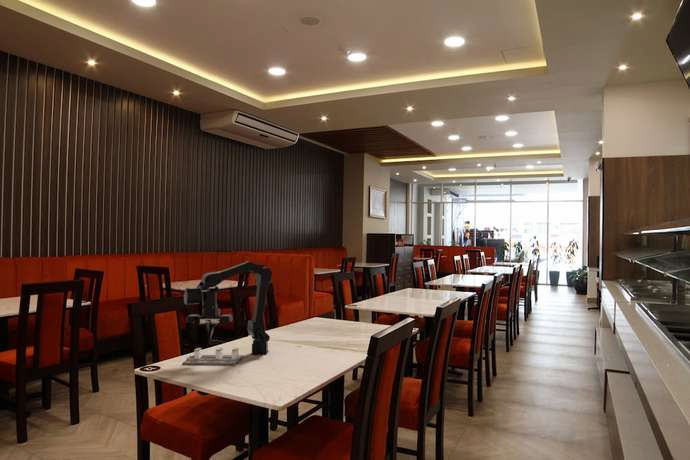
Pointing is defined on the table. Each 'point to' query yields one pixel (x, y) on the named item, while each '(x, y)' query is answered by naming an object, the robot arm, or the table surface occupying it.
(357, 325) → the table surface
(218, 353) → the breaker
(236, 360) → the panel
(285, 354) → the table surface
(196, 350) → the breaker
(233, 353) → the breaker
